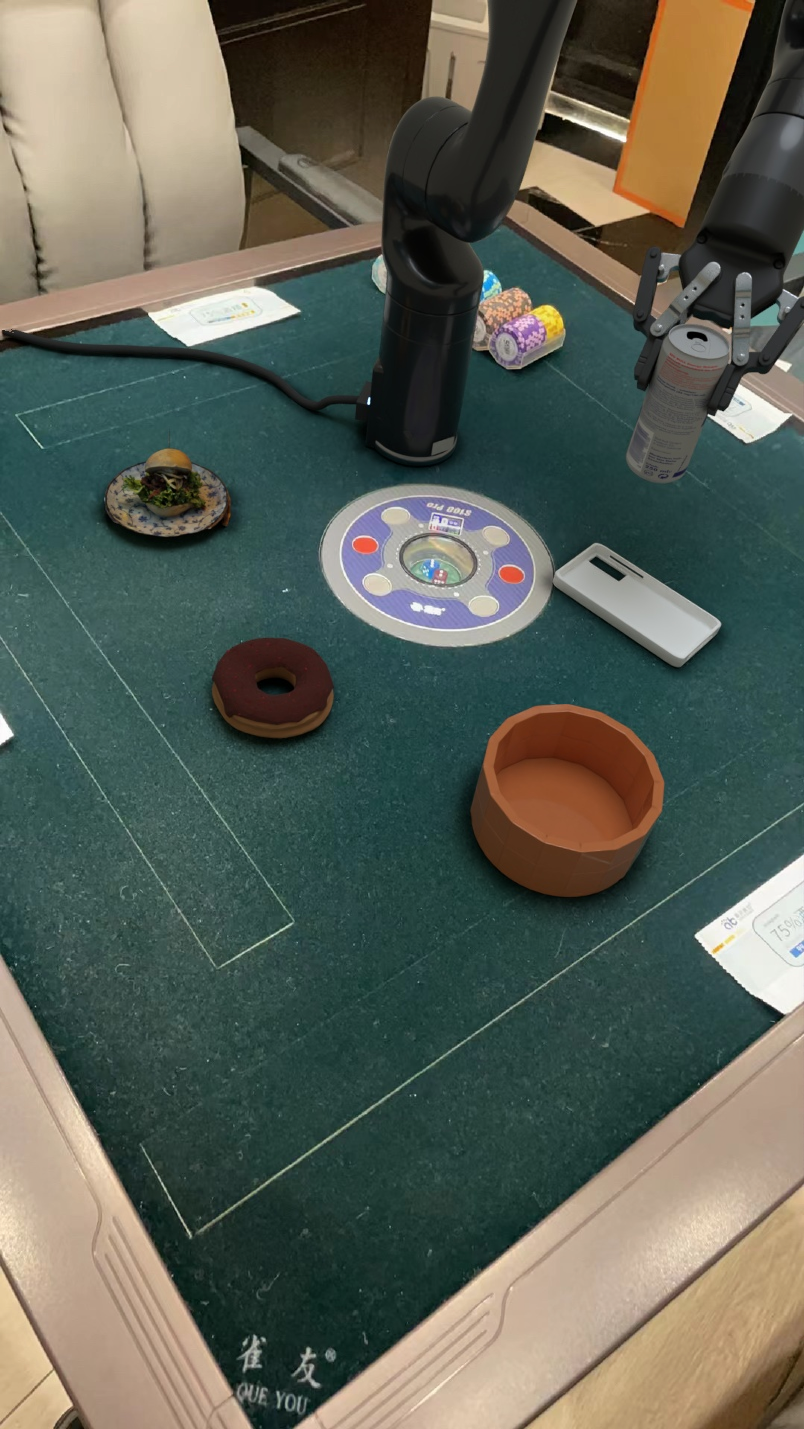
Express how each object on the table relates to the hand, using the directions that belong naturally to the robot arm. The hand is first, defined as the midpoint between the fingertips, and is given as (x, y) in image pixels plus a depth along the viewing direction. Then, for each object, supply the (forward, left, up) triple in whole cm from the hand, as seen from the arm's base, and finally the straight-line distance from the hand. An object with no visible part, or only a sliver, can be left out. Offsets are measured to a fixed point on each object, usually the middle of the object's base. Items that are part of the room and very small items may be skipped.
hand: (675, 399), depth 84 cm
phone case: (+3, -1, -22) cm, 22 cm away
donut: (-26, -23, -22) cm, 41 cm away
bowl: (-1, -28, -22) cm, 35 cm away
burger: (-43, -3, -22) cm, 49 cm away
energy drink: (0, +2, -8) cm, 8 cm away
